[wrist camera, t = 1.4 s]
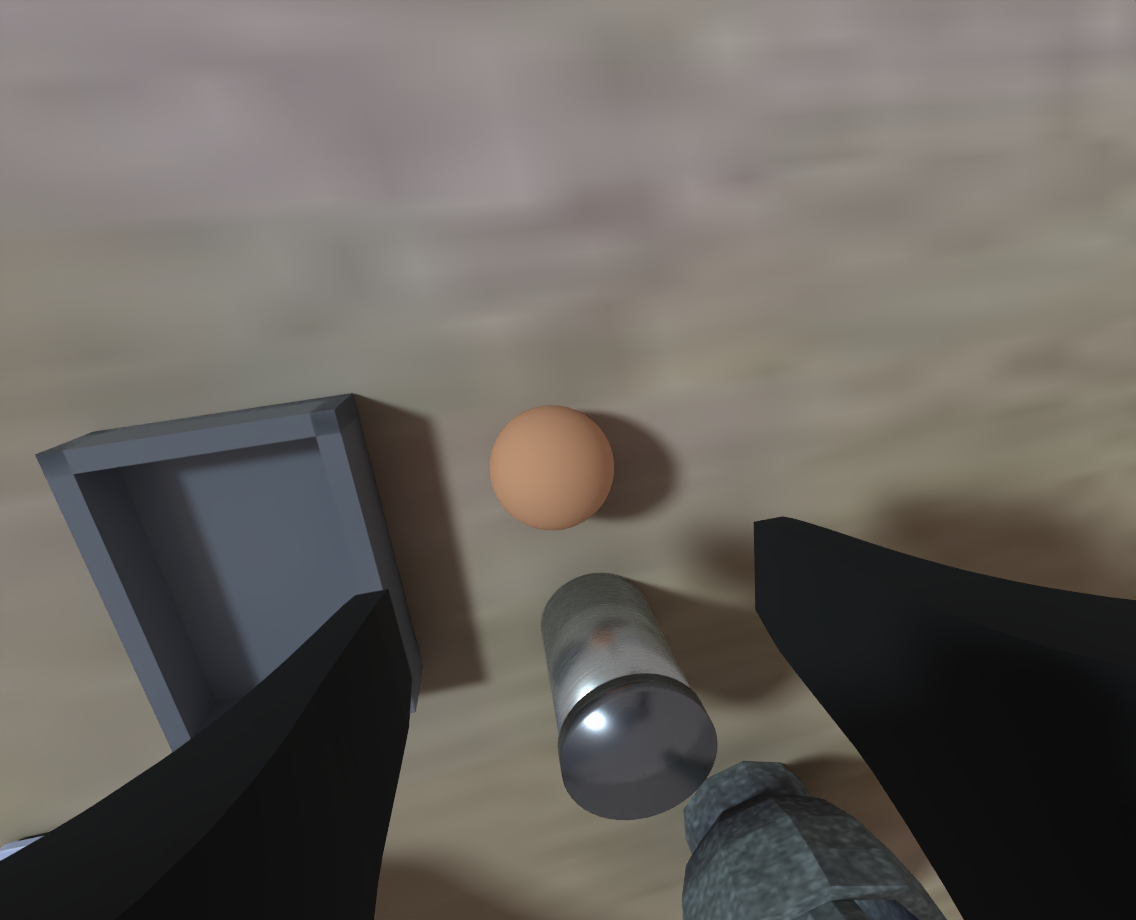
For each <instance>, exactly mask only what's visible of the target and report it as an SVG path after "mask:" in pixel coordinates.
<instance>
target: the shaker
mask: <svg viewBox="0 0 1136 920" xmlns="http://www.w3.org/2000/svg"><path fill="white" fill-rule="evenodd" d="M541 631H542V638H543V644H544V650H545V656H546V662H547V668H548V674H549V680H550V686H551V692H552V698H553V704H554V710H555V716H556V722H557V728H558V734H559V737H558V754H559V761H560V767H561V773H562V778H563V782H564V785H565V787H566V790H567V792H568V793H569V795H570V796H571V798H572V799H573V800H574V801H575V802H576V803H577V804H578V805H579V806H581V807H582V808H583V809H585V810H587V811H589V812H590V813H592V814H595V815H598V816H600V817H604V818H608V819H616V820H634V819H641V818H647V817H650V816H654V815H657V814H660V813H662V812H665V811H667V810H669V809H671V808H673V807H675V806H677V805H678V804H680V803H681V802H683V801H684V800H686V799H687V798H688V797H689V796H691V795H692V794H693V793H694V792H695V791H696V790H697V789H698V788H699V787H700V786H701V784H702V783H703V782H704V781H705V779H706V778H707V776H708V775H709V773H710V771H711V769H712V767H713V764H714V761H715V758H716V753H717V735H716V731H715V728H714V726H713V724H712V722H711V720H710V718H709V716H708V714H707V712H706V710H705V708H704V706H703V704H702V702H701V700H700V699H699V697H698V696H697V695H696V693H695V692H694V691H693V690H692V689H691V688H690V686H689V684H688V682H687V680H686V678H685V676H684V674H683V672H682V670H681V668H680V666H679V664H678V662H677V660H676V658H675V656H674V654H673V652H672V650H671V648H670V646H669V645H668V643H667V641H666V639H665V637H664V635H663V633H662V631H661V629H660V627H659V625H658V623H657V621H656V619H655V617H654V615H653V613H652V611H651V609H650V607H649V605H648V603H647V601H646V599H645V597H644V595H643V594H642V592H641V591H640V589H639V588H638V587H637V586H636V585H635V584H633V583H632V582H631V581H629V580H627V579H625V578H623V577H621V576H618V575H614V574H609V573H593V574H587V575H583V576H580V577H578V578H575V579H573V580H571V581H569V582H568V583H566V584H565V585H563V586H562V587H561V588H559V589H558V590H557V591H556V592H555V593H554V594H553V596H552V597H551V598H550V600H549V601H548V603H547V605H546V607H545V609H544V612H543V615H542V620H541Z"/></svg>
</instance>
